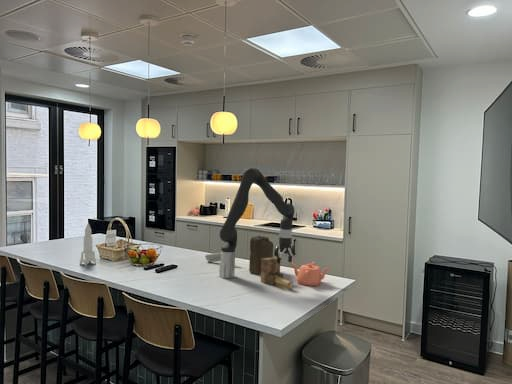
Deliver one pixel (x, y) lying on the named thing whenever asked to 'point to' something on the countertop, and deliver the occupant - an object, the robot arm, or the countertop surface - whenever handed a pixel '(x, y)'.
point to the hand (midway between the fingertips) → (284, 262)
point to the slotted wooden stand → (269, 270)
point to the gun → (213, 257)
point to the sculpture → (88, 247)
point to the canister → (259, 252)
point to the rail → (283, 283)
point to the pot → (309, 274)
